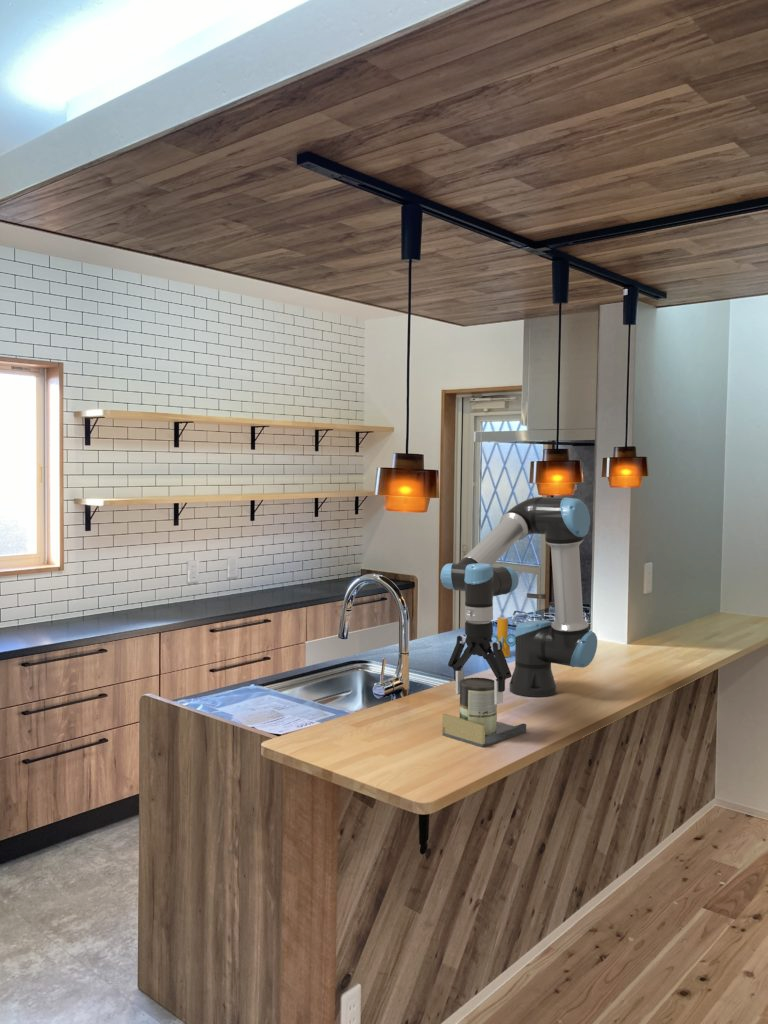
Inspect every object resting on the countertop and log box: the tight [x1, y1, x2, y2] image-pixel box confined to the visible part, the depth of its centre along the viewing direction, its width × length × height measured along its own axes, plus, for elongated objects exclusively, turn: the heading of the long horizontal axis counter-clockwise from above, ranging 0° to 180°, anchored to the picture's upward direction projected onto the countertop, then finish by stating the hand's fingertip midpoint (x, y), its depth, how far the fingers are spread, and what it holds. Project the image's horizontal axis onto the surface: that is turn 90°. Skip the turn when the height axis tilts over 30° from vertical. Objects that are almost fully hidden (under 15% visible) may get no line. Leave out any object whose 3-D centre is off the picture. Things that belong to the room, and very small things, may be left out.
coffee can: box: [459, 677, 498, 736], centre depth 232 cm, size 10×10×14 cm
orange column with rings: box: [491, 616, 515, 659], centre depth 334 cm, size 12×10×15 cm
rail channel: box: [442, 713, 527, 748], centre depth 235 cm, size 19×14×6 cm
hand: (478, 698), depth 233 cm, fingers open, 13 cm apart
